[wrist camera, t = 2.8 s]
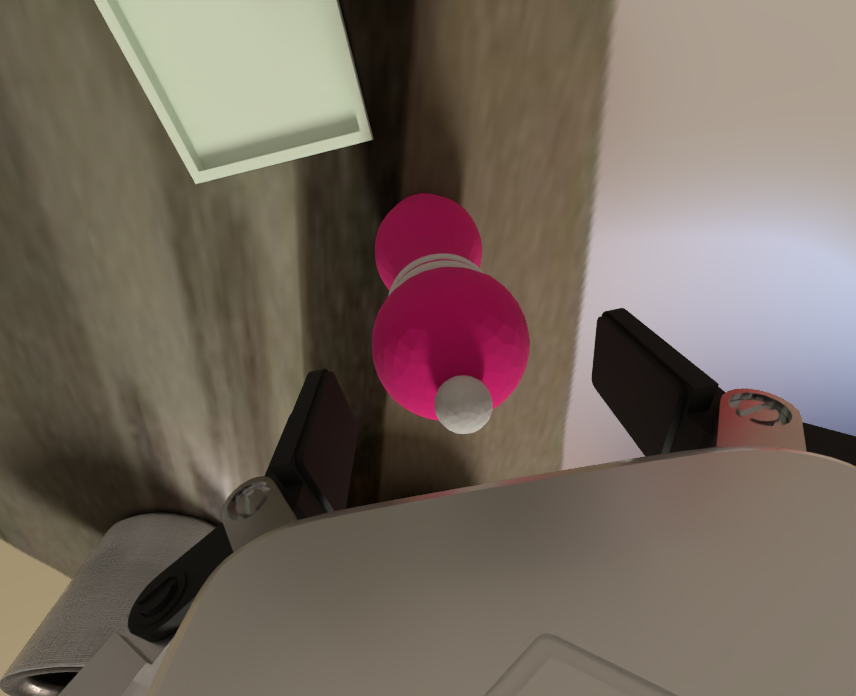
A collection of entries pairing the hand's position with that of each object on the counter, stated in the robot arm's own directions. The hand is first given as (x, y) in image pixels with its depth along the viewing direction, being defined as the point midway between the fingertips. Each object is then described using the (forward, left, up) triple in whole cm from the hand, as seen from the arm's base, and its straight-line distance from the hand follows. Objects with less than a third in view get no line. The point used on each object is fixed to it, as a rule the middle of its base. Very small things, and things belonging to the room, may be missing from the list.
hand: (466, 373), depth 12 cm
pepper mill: (0, 0, -18) cm, 18 cm away
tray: (-13, -8, -17) cm, 23 cm away
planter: (+34, -44, -18) cm, 58 cm away
